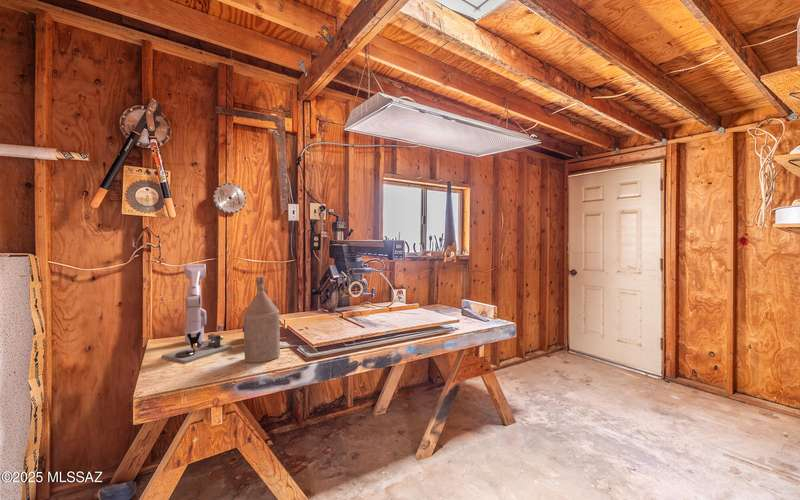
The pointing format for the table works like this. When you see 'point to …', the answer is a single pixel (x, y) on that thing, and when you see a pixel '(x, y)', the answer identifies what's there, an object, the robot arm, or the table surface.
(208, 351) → the board
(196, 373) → the table surface
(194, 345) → the handwheel
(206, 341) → the headed rod
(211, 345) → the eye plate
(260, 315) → the grey brown bottle
